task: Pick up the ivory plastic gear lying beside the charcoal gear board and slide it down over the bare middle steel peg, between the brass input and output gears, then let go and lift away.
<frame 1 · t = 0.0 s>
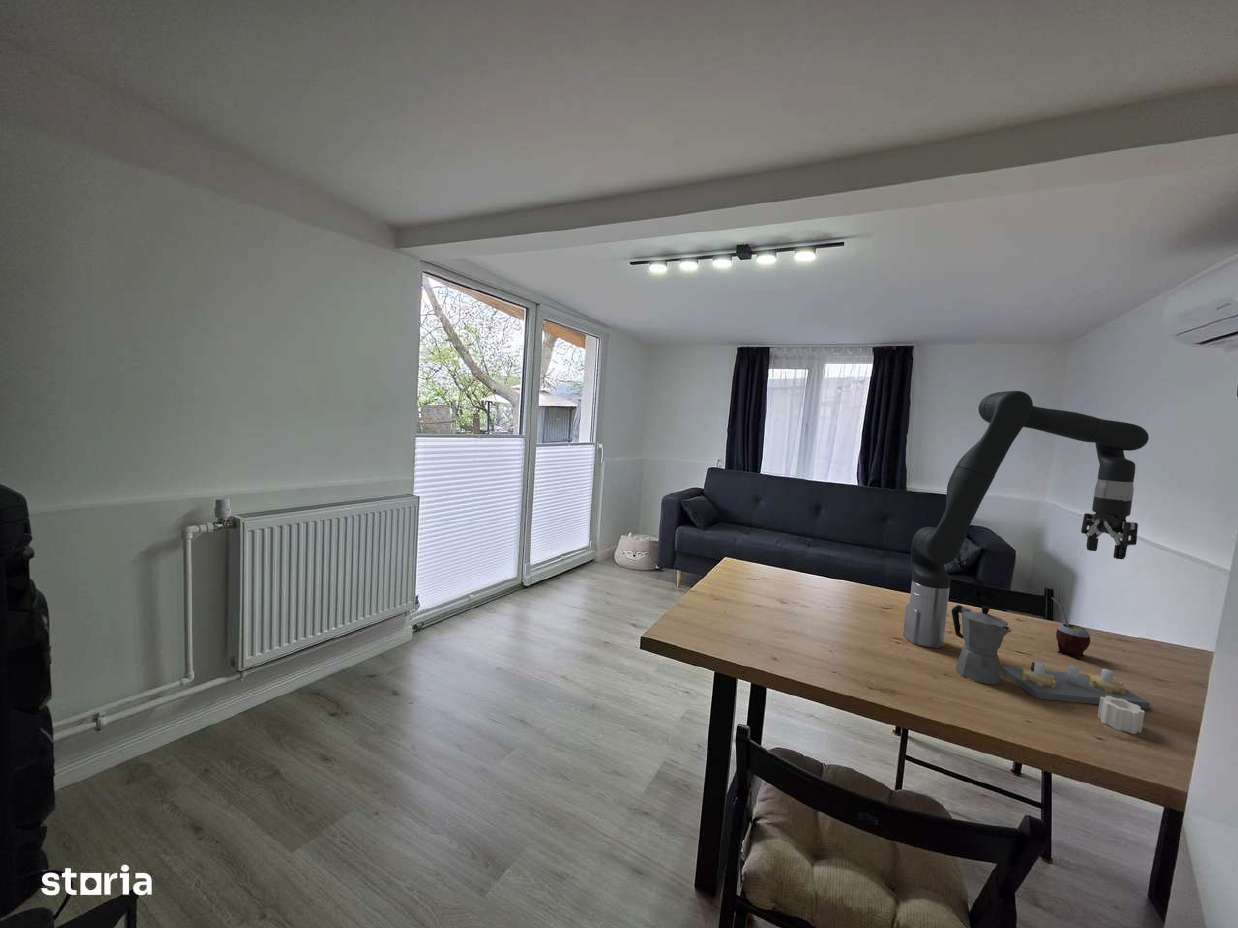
hand: (1104, 554, 137), 29 cm above the table, tool pointing down, fingers open, 8 cm apart
ivory gear: (1119, 724, 106), on the table
coffeepot: (973, 674, 125), on the table
gear board: (1070, 689, 119), on the table
mate gourd: (1068, 654, 140), on the table
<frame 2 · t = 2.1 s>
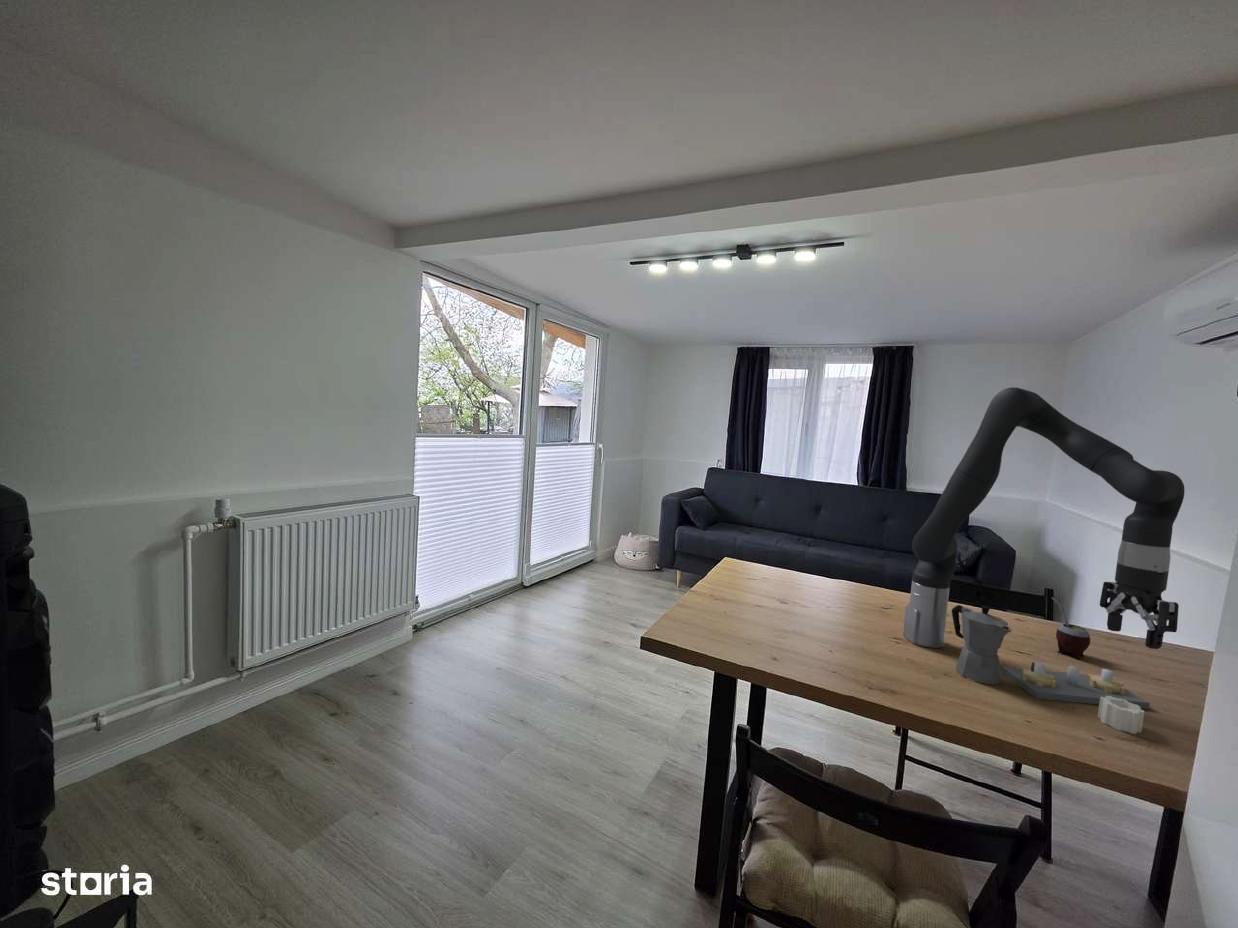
hand: (1132, 638, 105), 19 cm above the table, tool pointing down, fingers open, 8 cm apart
nothing on the table moved.
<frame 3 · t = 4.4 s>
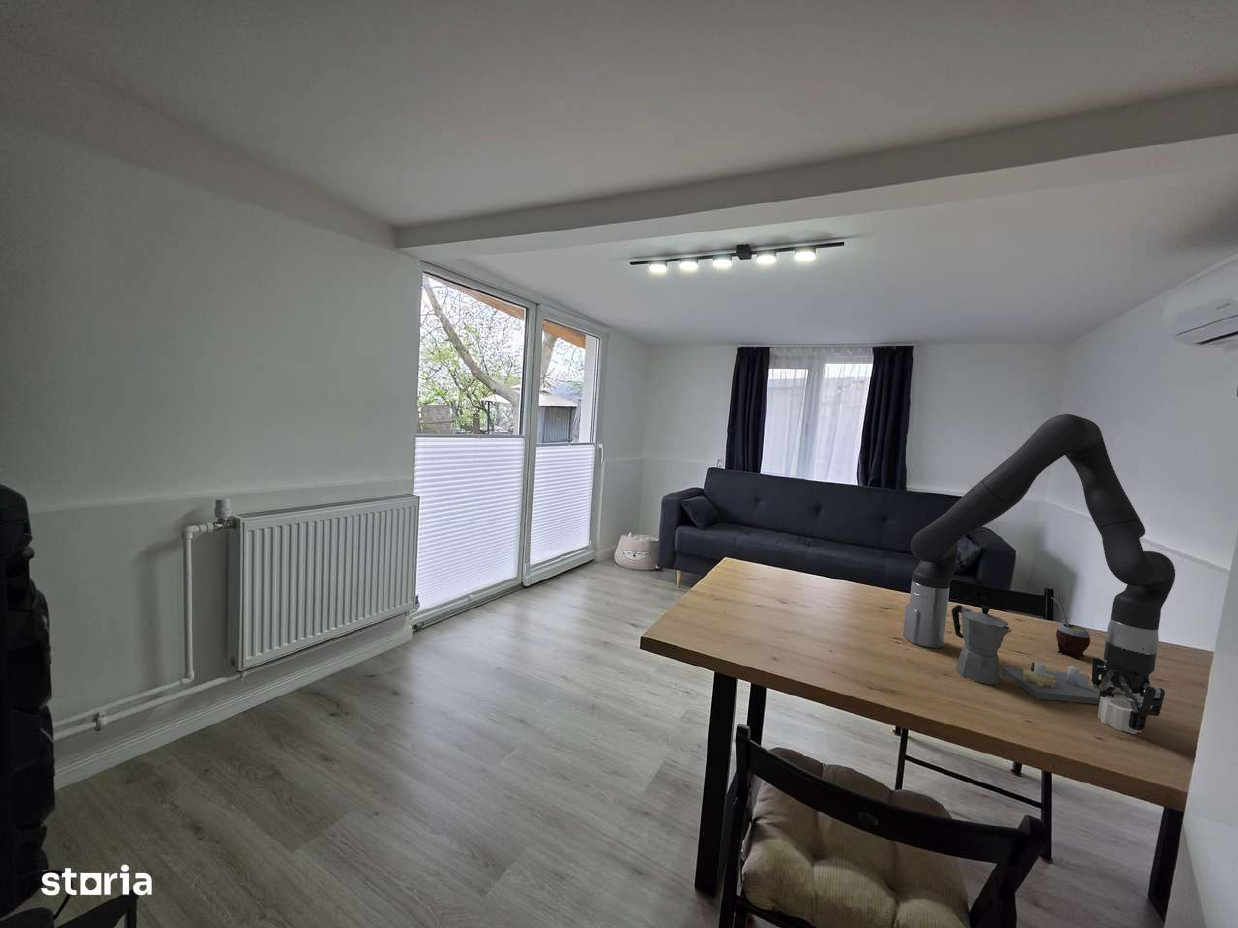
hand: (1120, 718, 105), 1 cm above the table, tool pointing down, fingers closed on ivory gear, 6 cm apart
ivory gear: (1119, 724, 106), on the table, touching gripper
everything else where it was.
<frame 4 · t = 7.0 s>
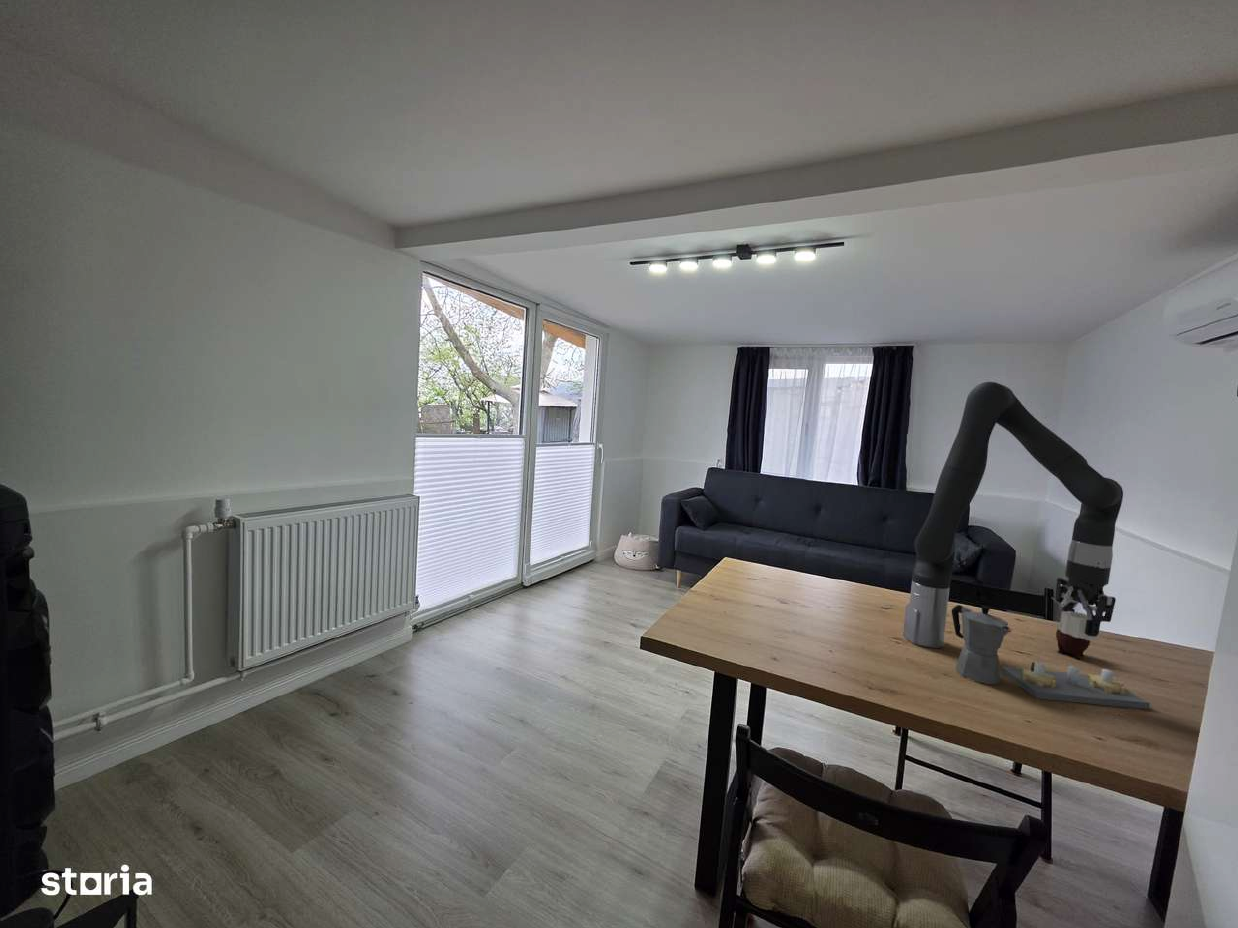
hand: (1078, 628, 118), 15 cm above the table, tool pointing down, fingers closed on ivory gear, 6 cm apart
ivory gear: (1077, 634, 118), point 14 cm above the table, touching gripper
everything else where it was.
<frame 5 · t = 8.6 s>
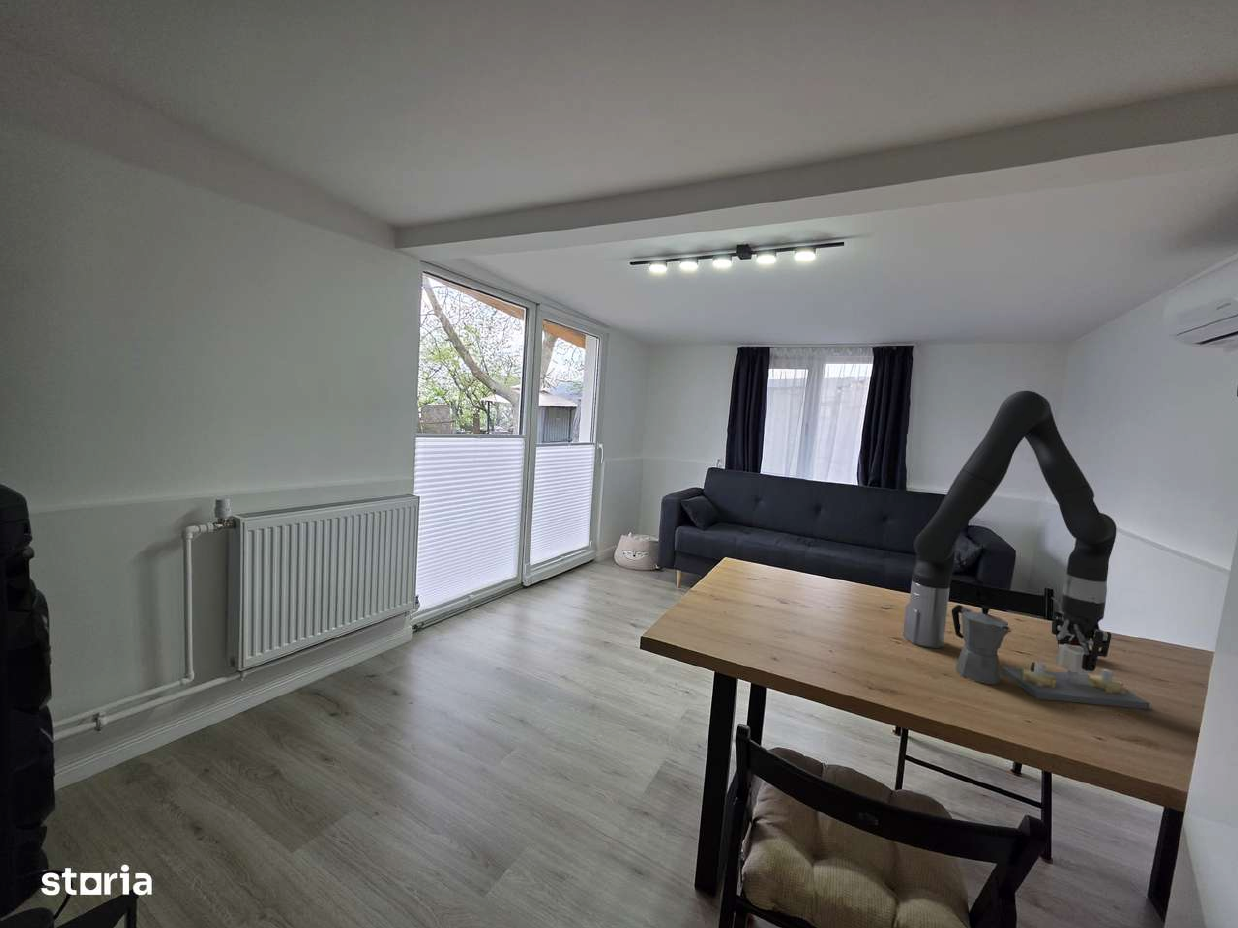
hand: (1075, 662, 119), 7 cm above the table, tool pointing down, fingers closed on ivory gear, 6 cm apart
ivory gear: (1074, 667, 119), point 6 cm above the table, touching gripper
everything else where it was.
when the fingers open (5 cm above the table, at t = 9.7 s): ivory gear drops 2 cm, resting on gear board.
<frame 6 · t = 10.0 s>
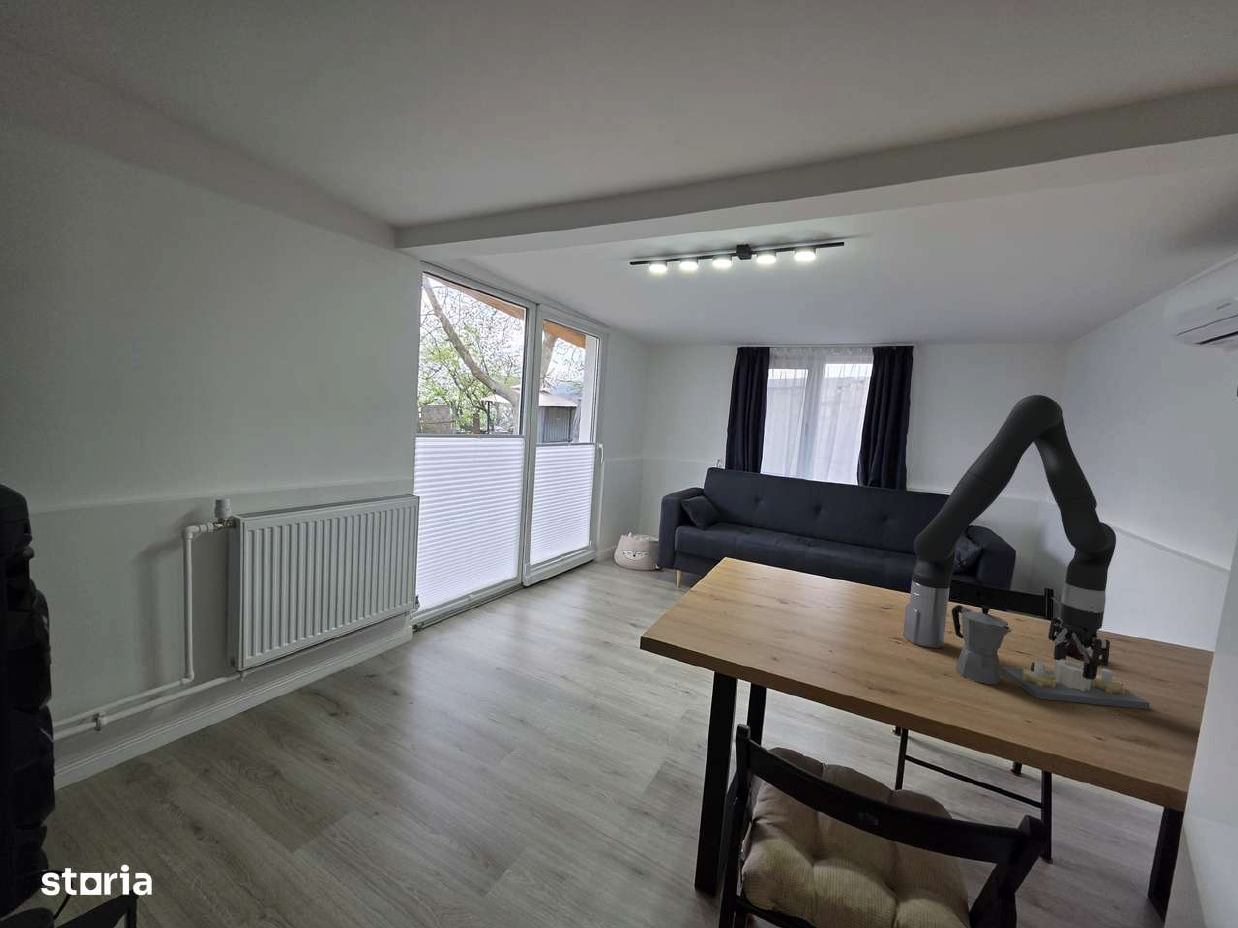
hand: (1073, 669, 119), 5 cm above the table, tool pointing down, fingers open, 8 cm apart
ivory gear: (1071, 683, 119), point 1 cm above the table, touching gear board
everything else where it was.
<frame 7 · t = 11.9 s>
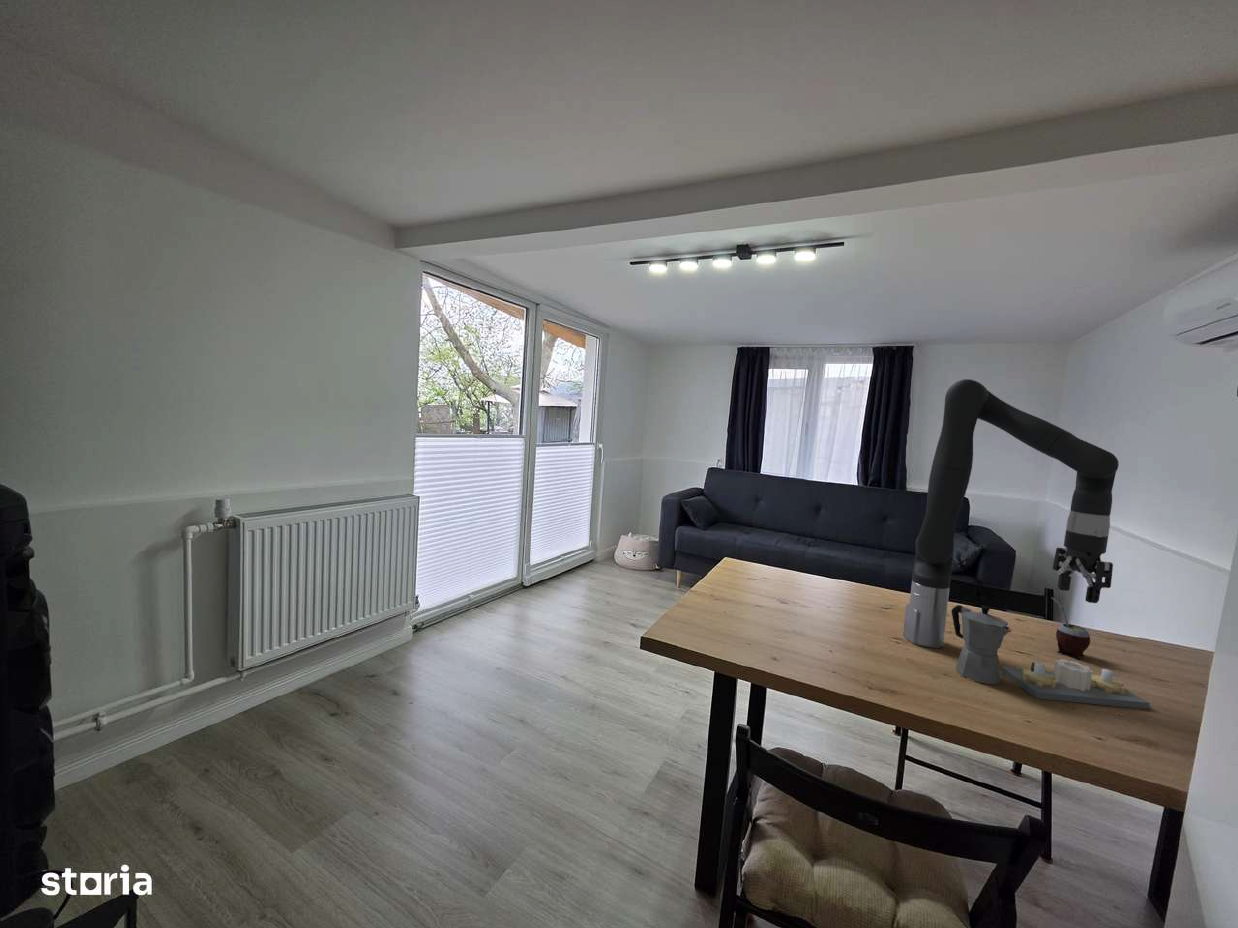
hand: (1076, 595, 121), 22 cm above the table, tool pointing down, fingers open, 8 cm apart
nothing on the table moved.
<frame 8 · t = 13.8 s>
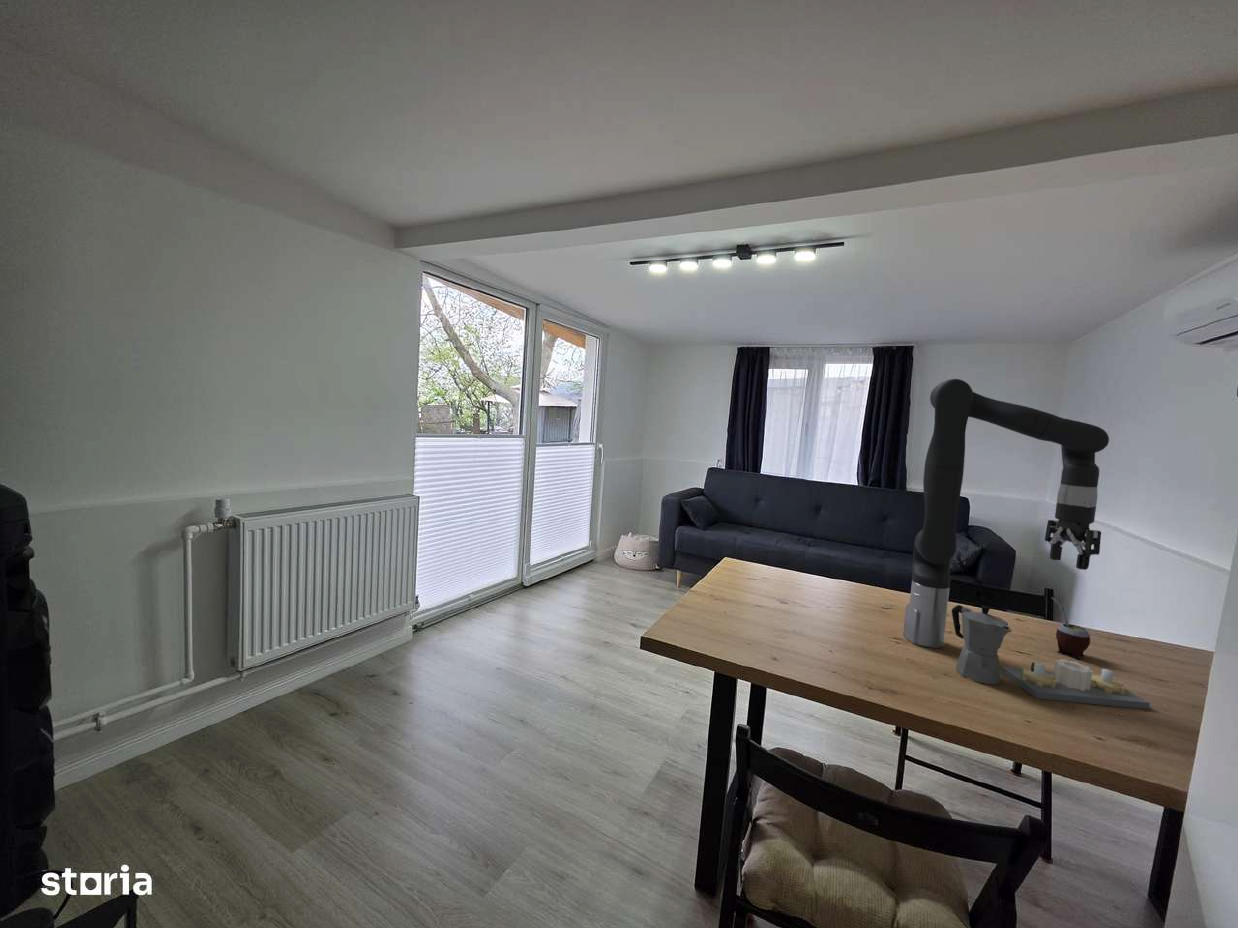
hand: (1068, 564, 128), 28 cm above the table, tool pointing down, fingers open, 8 cm apart
nothing on the table moved.
at the end: ivory gear 0.1 cm from the gear board (horizontally); ivory gear point 1.5 cm above the table; the gripper is holding nothing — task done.
